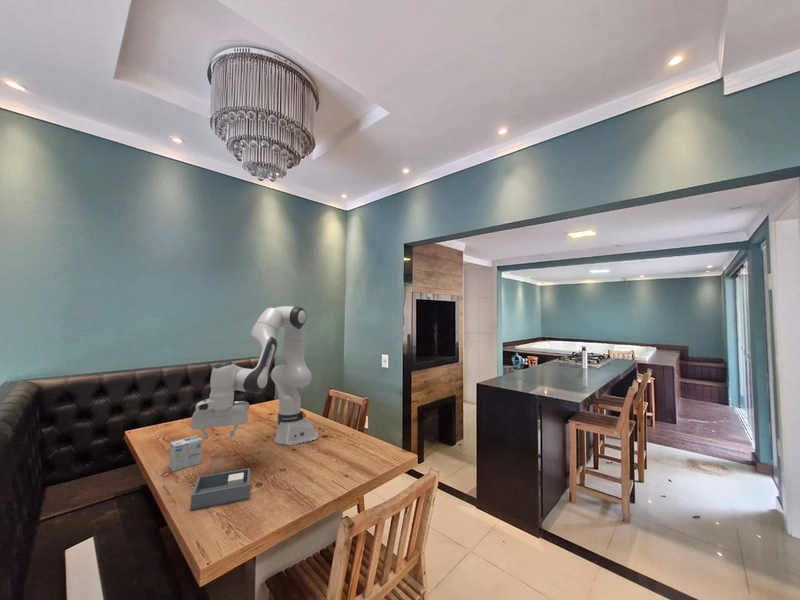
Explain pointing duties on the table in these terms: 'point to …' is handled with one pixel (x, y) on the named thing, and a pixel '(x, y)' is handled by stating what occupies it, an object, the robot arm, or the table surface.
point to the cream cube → (235, 479)
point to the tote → (219, 490)
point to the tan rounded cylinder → (218, 465)
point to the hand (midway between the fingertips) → (219, 437)
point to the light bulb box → (185, 453)
